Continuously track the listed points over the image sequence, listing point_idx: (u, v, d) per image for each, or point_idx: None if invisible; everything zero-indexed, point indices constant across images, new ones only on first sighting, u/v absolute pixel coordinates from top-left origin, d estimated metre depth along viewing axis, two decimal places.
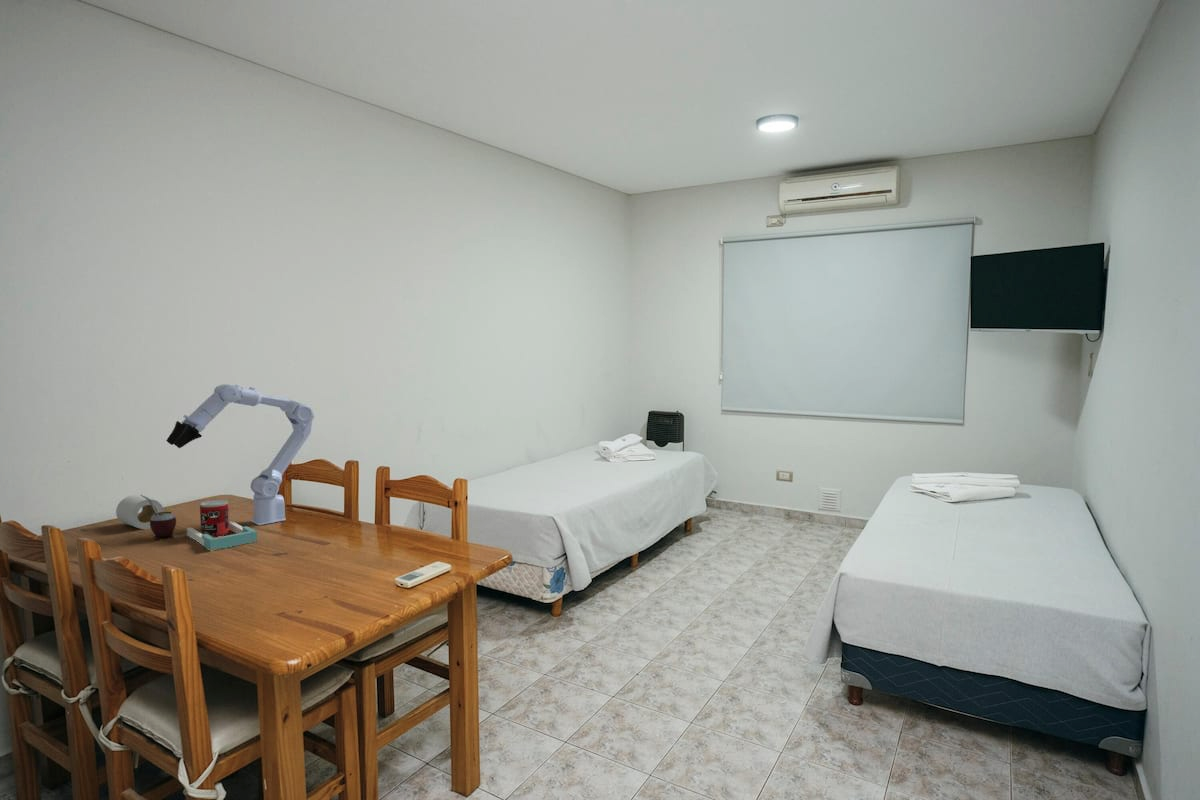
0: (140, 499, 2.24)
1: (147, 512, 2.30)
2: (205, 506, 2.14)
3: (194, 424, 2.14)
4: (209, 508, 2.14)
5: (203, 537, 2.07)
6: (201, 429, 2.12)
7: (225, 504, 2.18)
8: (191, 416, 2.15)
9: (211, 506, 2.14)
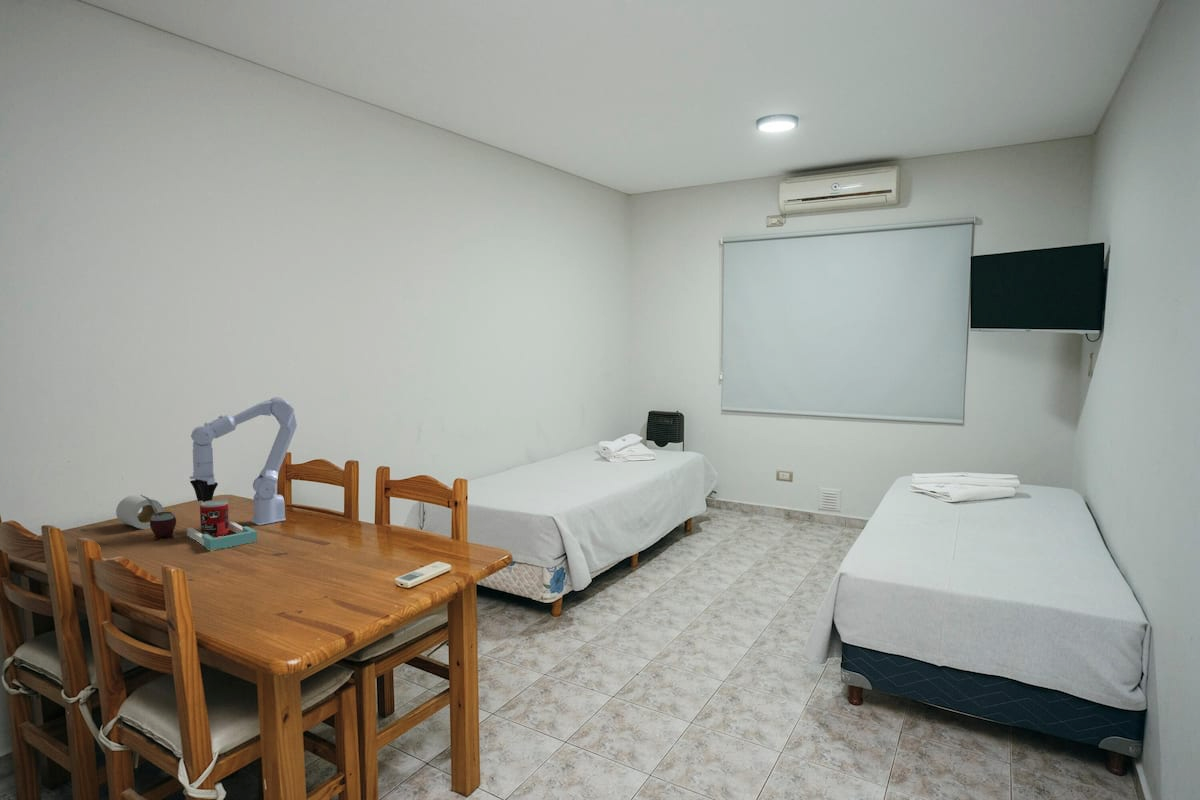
0: (140, 499, 2.24)
1: (147, 512, 2.30)
2: (205, 506, 2.14)
3: None
4: (209, 508, 2.14)
5: (203, 537, 2.07)
6: (213, 481, 2.19)
7: (225, 504, 2.18)
8: (195, 474, 2.21)
9: (211, 506, 2.14)
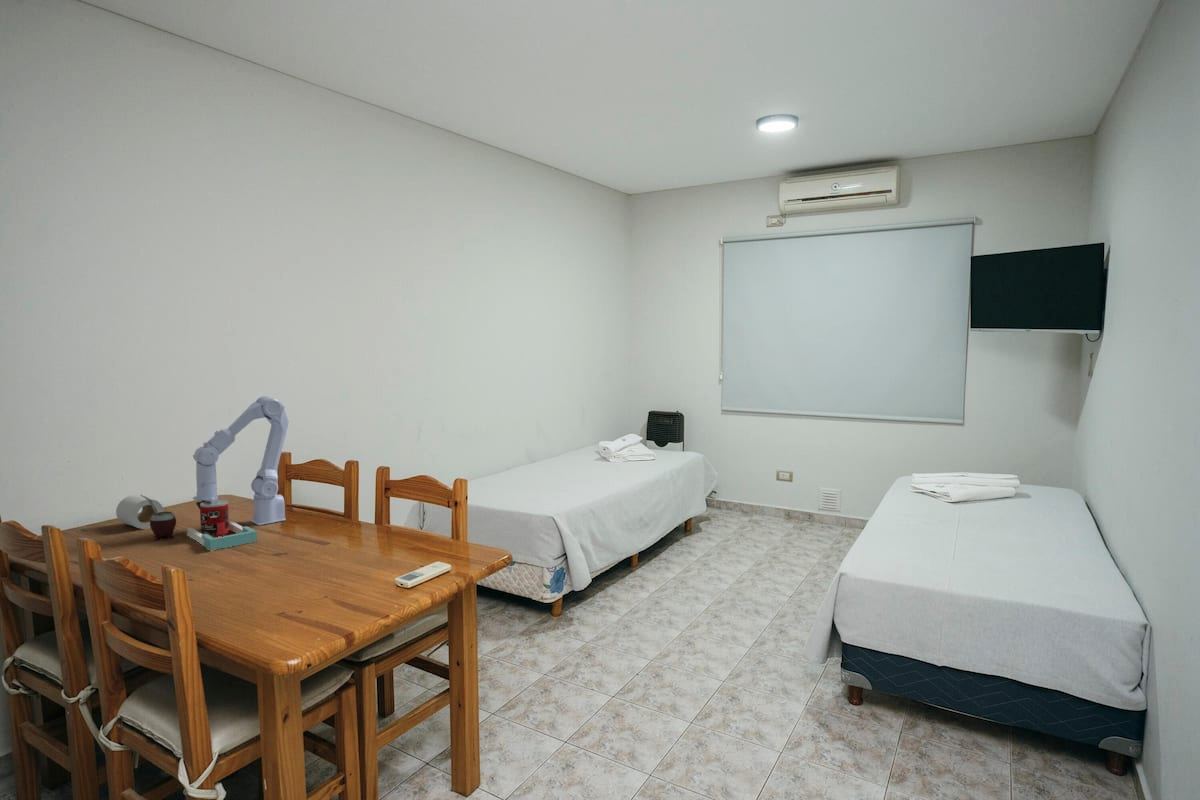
0: (140, 499, 2.24)
1: (147, 512, 2.30)
2: (205, 506, 2.14)
3: None
4: (209, 508, 2.14)
5: (203, 537, 2.07)
6: (216, 502, 2.18)
7: (225, 504, 2.18)
8: (199, 495, 2.19)
9: (211, 506, 2.14)
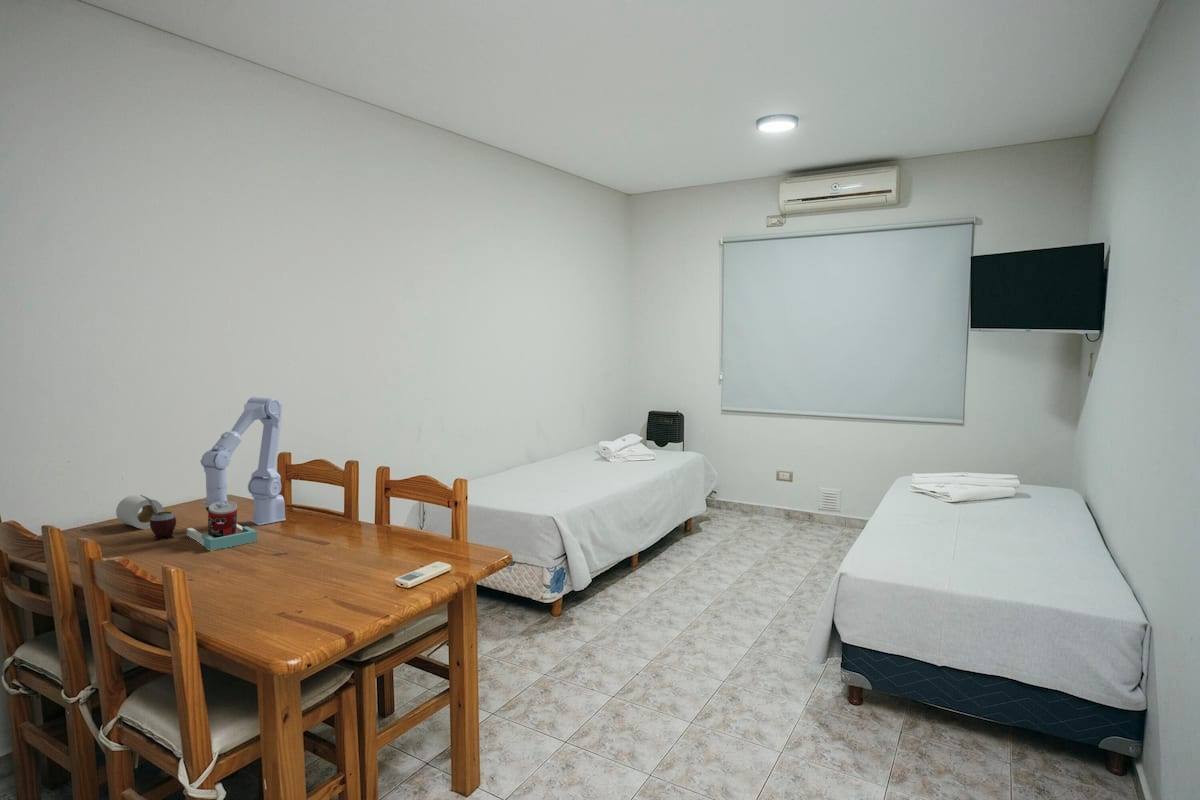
0: (140, 499, 2.24)
1: (147, 512, 2.30)
2: (212, 512, 2.08)
3: None
4: (216, 514, 2.08)
5: (203, 537, 2.07)
6: None
7: (233, 511, 2.11)
8: (208, 500, 2.13)
9: (218, 513, 2.08)
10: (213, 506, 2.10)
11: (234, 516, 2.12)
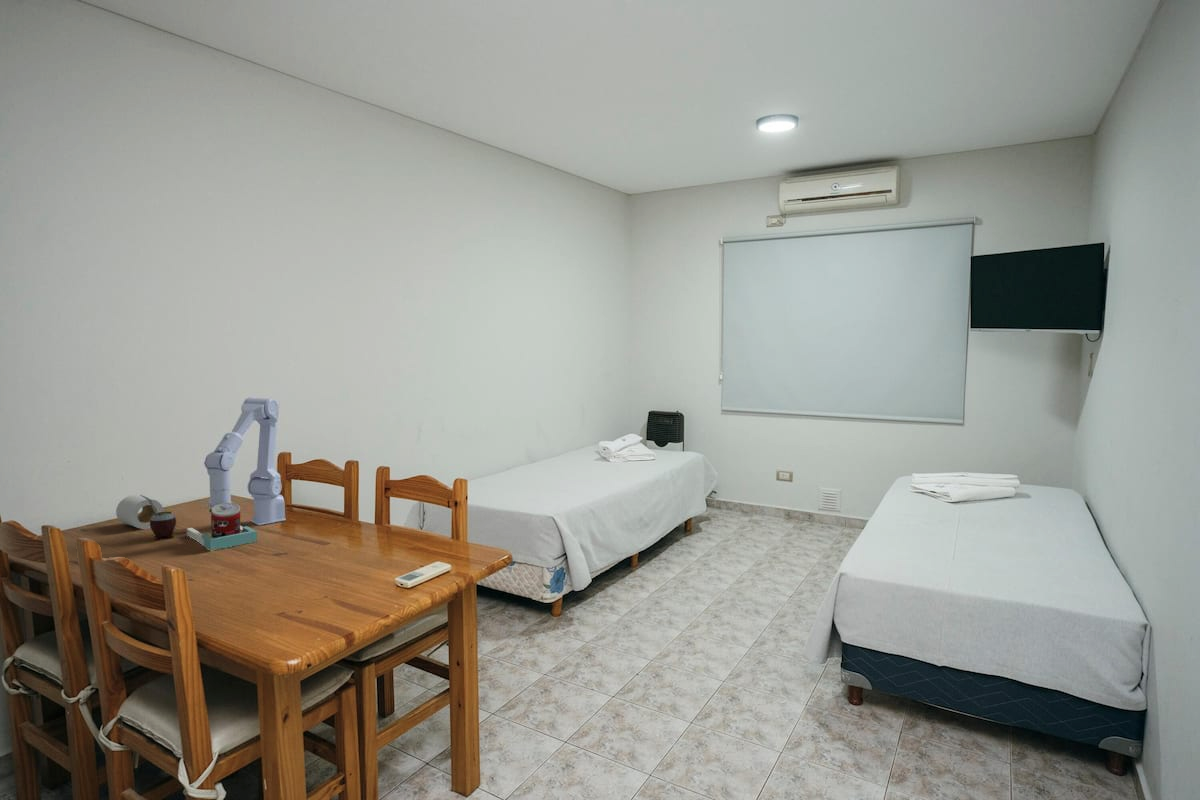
0: (140, 499, 2.24)
1: (147, 512, 2.30)
2: (214, 514, 2.05)
3: None
4: (218, 517, 2.05)
5: (203, 537, 2.07)
6: None
7: (236, 513, 2.08)
8: (212, 502, 2.11)
9: (220, 515, 2.05)
10: (216, 508, 2.08)
11: (237, 519, 2.09)
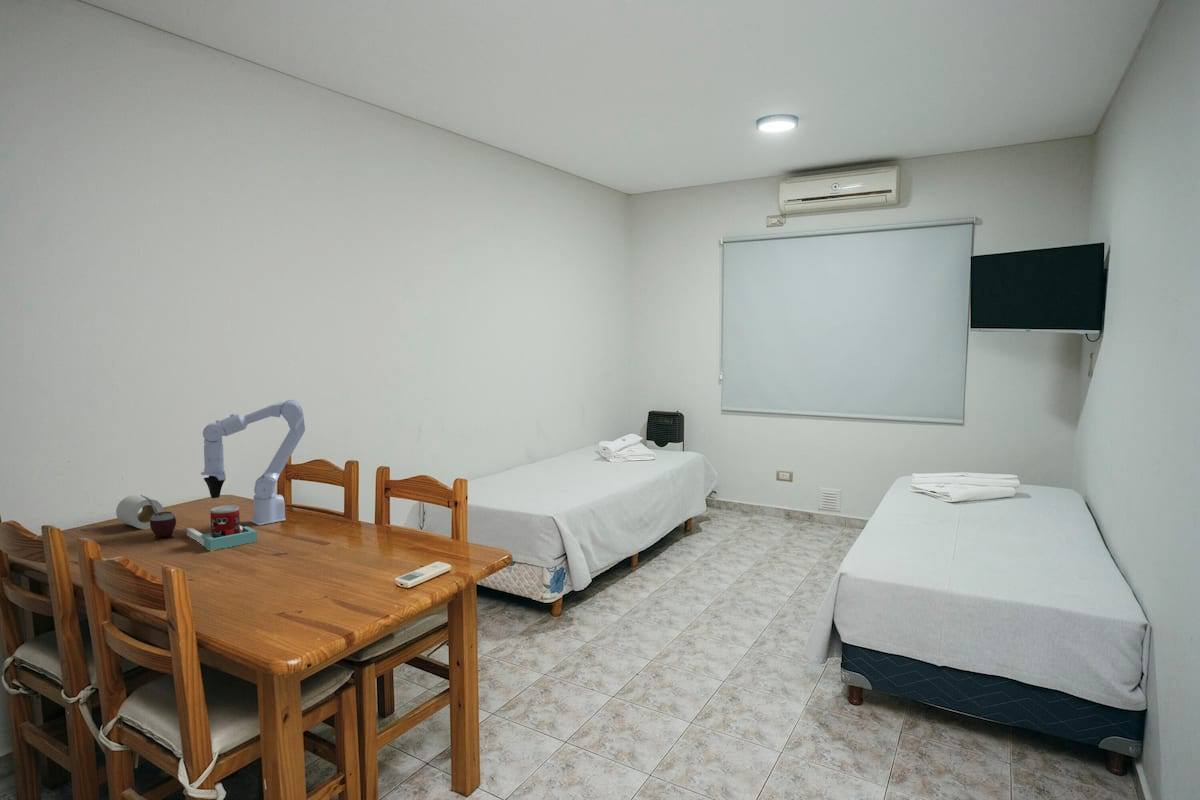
0: (140, 499, 2.24)
1: (147, 512, 2.30)
2: (214, 512, 2.08)
3: None
4: (217, 514, 2.08)
5: (203, 537, 2.07)
6: (224, 477, 2.23)
7: (235, 510, 2.11)
8: (206, 470, 2.25)
9: (219, 512, 2.08)
10: (215, 509, 2.11)
11: (236, 517, 2.11)
